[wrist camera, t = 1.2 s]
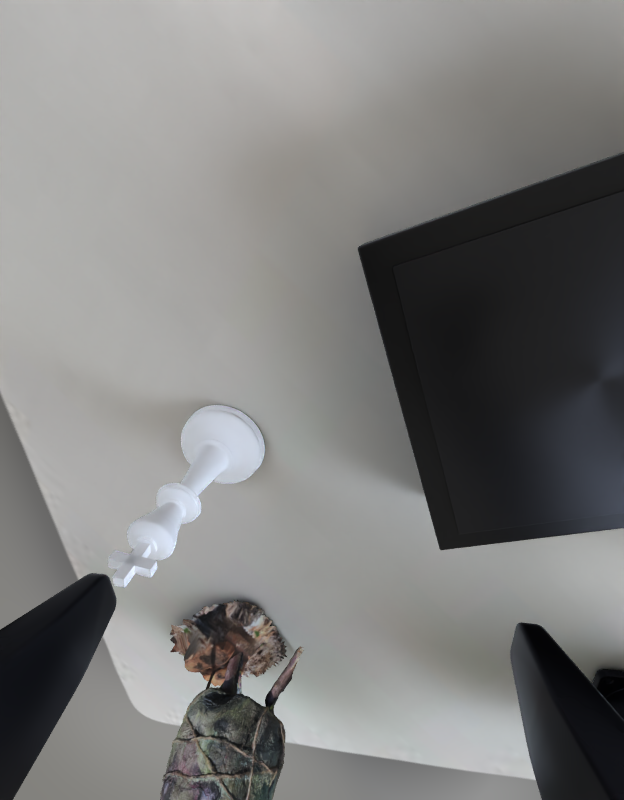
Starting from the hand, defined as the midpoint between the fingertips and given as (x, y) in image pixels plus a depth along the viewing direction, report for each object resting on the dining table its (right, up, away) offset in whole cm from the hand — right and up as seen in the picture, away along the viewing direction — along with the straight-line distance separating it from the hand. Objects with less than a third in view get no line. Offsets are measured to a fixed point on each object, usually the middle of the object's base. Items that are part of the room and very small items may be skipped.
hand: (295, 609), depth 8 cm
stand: (+11, +7, +9) cm, 16 cm away
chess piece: (-5, +2, +14) cm, 15 cm away
